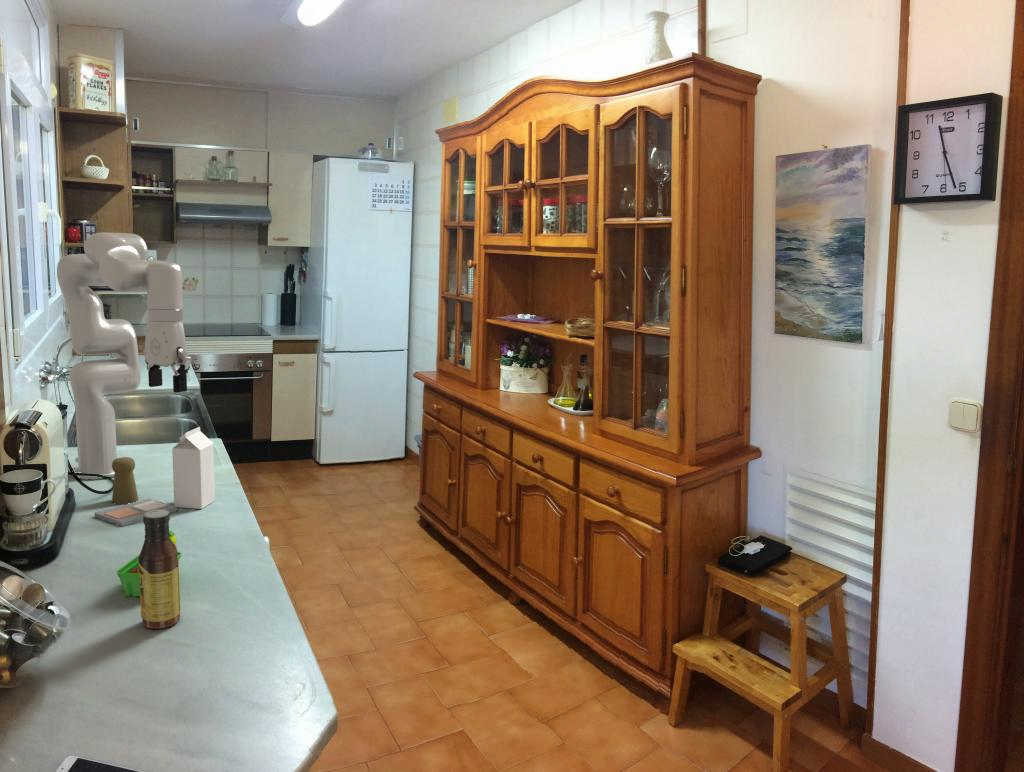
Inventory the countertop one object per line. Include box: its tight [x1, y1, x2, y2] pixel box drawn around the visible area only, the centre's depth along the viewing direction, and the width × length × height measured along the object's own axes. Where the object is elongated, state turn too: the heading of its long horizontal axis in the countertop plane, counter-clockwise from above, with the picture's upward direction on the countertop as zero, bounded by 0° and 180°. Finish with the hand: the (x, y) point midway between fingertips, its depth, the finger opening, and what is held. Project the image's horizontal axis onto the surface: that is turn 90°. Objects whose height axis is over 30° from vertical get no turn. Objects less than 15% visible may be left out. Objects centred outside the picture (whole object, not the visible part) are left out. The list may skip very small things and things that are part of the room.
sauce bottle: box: [138, 510, 182, 630], centre depth 136 cm, size 7×6×20 cm
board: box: [94, 498, 178, 527], centre depth 191 cm, size 11×14×1 cm
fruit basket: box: [116, 529, 182, 597], centre depth 151 cm, size 11×9×11 cm
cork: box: [111, 456, 139, 505], centre depth 199 cm, size 6×6×11 cm
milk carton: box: [171, 426, 216, 510], centre depth 198 cm, size 7×7×19 cm
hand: (167, 389), depth 189 cm, fingers open, 9 cm apart
